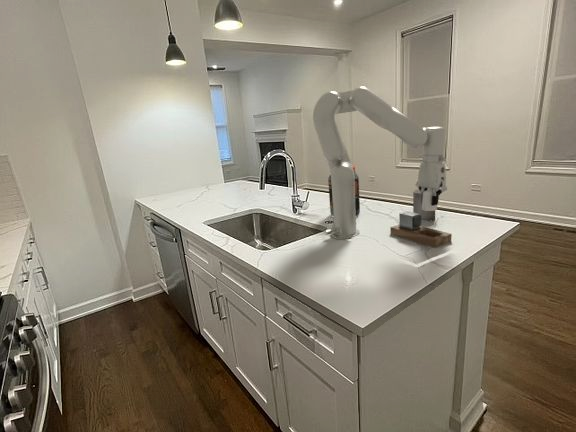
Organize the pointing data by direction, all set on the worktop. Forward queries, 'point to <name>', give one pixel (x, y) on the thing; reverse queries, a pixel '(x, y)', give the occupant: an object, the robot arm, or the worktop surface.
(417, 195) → the pillar candle
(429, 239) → the wooden tray
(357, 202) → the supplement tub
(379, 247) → the worktop surface
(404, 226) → the block
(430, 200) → the eye dropper bottle
